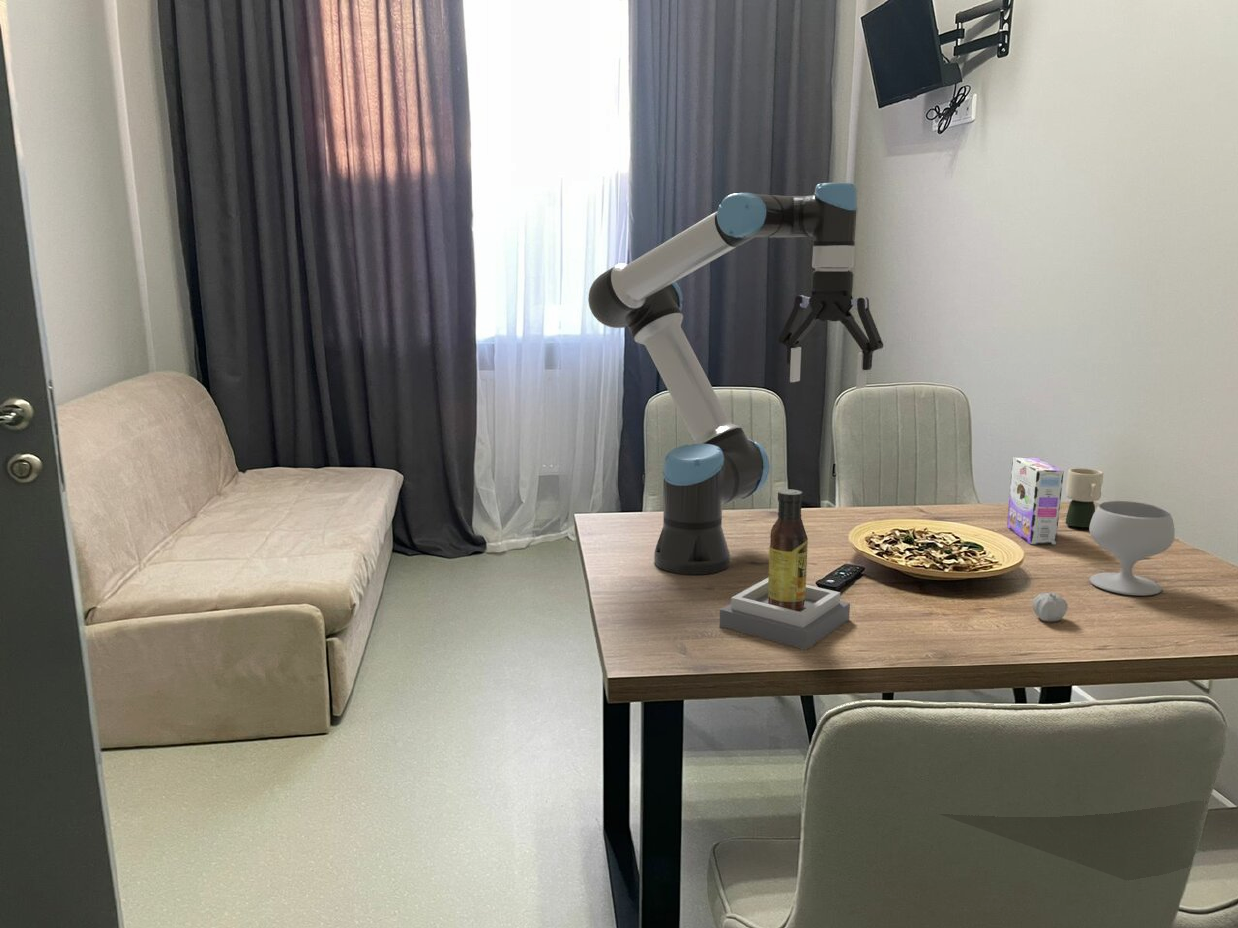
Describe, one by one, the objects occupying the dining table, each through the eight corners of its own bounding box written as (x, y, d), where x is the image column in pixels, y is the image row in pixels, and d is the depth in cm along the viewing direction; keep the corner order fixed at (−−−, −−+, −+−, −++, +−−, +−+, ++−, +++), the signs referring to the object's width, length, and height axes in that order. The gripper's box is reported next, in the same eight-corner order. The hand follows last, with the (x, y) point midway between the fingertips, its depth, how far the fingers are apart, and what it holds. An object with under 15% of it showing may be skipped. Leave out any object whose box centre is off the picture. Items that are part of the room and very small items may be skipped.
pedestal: (719, 626, 162) (720, 598, 161) (766, 599, 174) (767, 572, 173) (806, 649, 153) (807, 620, 151) (849, 619, 165) (850, 591, 164)
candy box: (1057, 545, 206) (1065, 470, 202) (1029, 545, 206) (1036, 470, 202) (1031, 527, 219) (1038, 456, 216) (1005, 527, 219) (1011, 456, 216)
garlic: (1064, 628, 161) (1067, 598, 160) (1029, 622, 164) (1032, 593, 163) (1067, 616, 166) (1070, 587, 165) (1033, 610, 169) (1036, 582, 168)
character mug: (1106, 534, 214) (1113, 477, 211) (1074, 533, 214) (1080, 476, 211) (1085, 520, 224) (1091, 465, 222) (1054, 520, 225) (1059, 465, 222)
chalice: (1085, 569, 190) (1093, 496, 187) (1166, 580, 184) (1176, 504, 181) (1081, 591, 178) (1090, 513, 175) (1168, 604, 172) (1179, 523, 169)
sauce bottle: (804, 614, 159) (809, 498, 155) (766, 611, 160) (770, 496, 156) (805, 600, 165) (810, 488, 161) (768, 597, 167) (772, 486, 162)
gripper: (906, 270, 173) (898, 387, 178) (781, 268, 188) (778, 377, 193) (889, 271, 168) (882, 392, 172) (762, 269, 182) (759, 381, 187)
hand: (827, 384), depth 183 cm, fingers open, 13 cm apart
